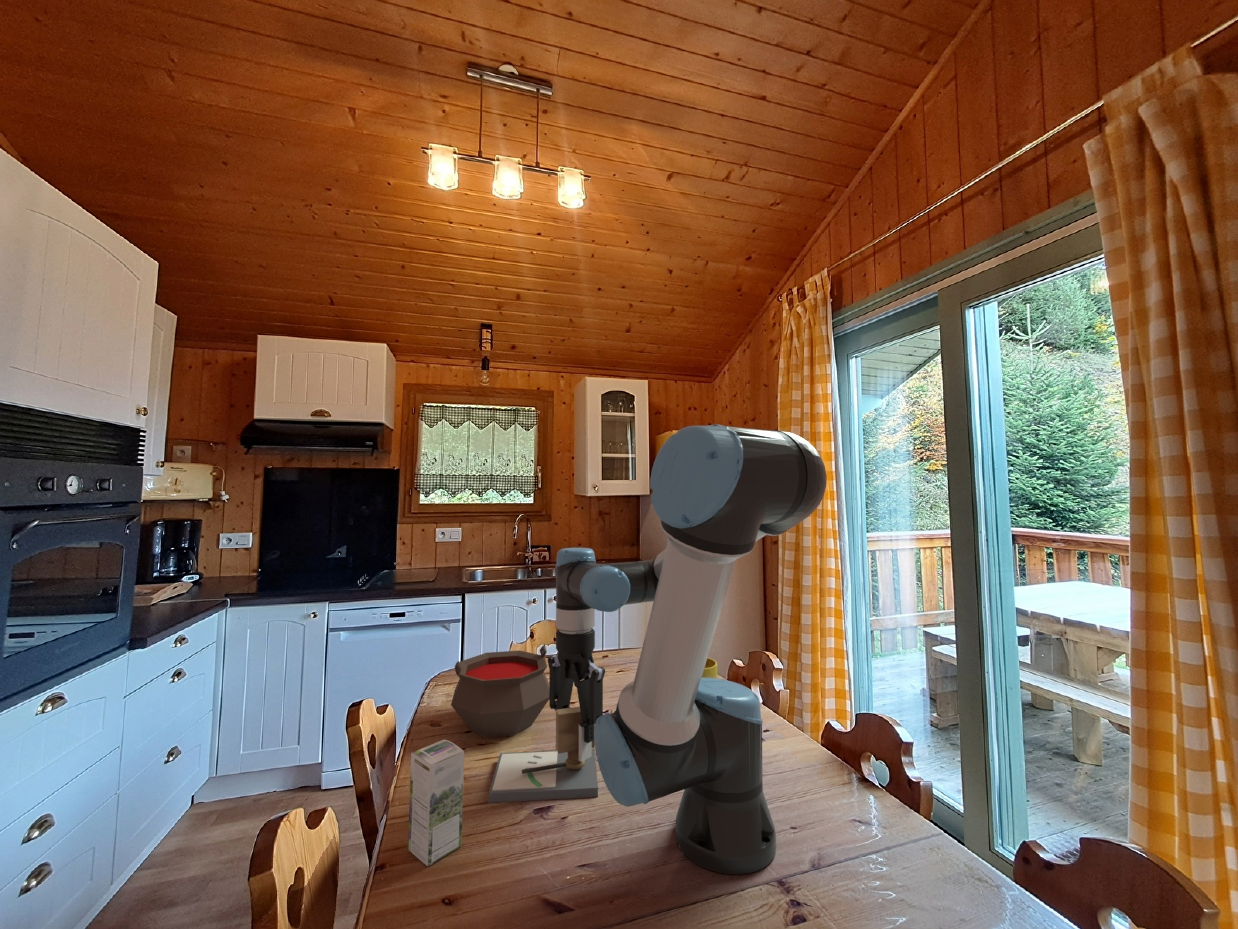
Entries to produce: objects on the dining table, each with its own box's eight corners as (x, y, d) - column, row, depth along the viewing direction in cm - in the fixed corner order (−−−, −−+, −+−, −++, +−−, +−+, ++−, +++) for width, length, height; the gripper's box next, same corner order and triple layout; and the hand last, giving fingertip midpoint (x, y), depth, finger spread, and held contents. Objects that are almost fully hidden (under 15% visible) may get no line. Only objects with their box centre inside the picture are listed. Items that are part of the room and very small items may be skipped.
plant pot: (683, 709, 125) (682, 669, 126) (673, 693, 135) (673, 656, 136) (723, 707, 127) (722, 667, 127) (710, 691, 137) (710, 654, 137)
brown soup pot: (527, 695, 134) (528, 633, 135) (572, 729, 115) (572, 656, 116) (435, 718, 121) (436, 649, 122) (468, 761, 101) (469, 677, 102)
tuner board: (597, 796, 89) (597, 785, 89) (488, 802, 87) (488, 791, 87) (594, 756, 103) (594, 746, 103) (500, 761, 101) (500, 751, 101)
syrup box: (441, 831, 80) (443, 736, 81) (463, 847, 76) (464, 748, 77) (407, 851, 75) (409, 750, 76) (428, 869, 71) (430, 763, 72)
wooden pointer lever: (590, 756, 98) (590, 703, 99) (595, 765, 95) (595, 711, 96) (520, 768, 94) (521, 713, 95) (523, 778, 91) (523, 721, 91)
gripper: (622, 632, 94) (623, 761, 93) (558, 618, 106) (558, 733, 104) (595, 641, 89) (595, 778, 87) (530, 625, 100) (529, 746, 98)
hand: (575, 753), depth 96 cm, fingers closed on wooden pointer lever, 5 cm apart
